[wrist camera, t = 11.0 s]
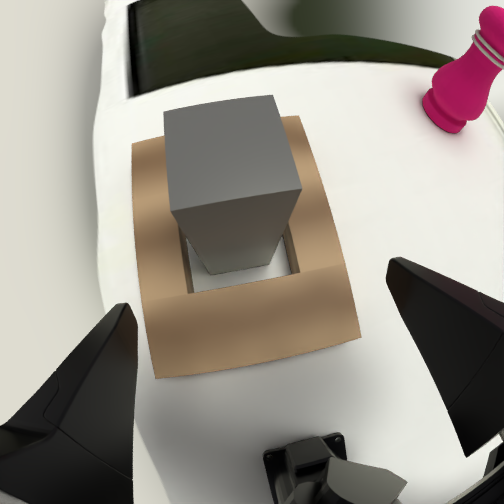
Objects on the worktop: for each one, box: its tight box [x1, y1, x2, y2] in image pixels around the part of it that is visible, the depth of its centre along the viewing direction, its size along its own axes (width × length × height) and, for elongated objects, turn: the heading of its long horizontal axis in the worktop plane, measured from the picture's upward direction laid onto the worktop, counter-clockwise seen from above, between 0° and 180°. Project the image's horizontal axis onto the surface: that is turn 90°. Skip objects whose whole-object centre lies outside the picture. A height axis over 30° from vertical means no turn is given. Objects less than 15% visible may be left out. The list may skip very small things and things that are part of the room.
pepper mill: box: [423, 6, 504, 133], centre depth 18 cm, size 7×7×20 cm
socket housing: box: [132, 116, 361, 379], centre depth 21 cm, size 18×14×3 cm
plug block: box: [164, 95, 303, 275], centre depth 16 cm, size 4×4×13 cm
